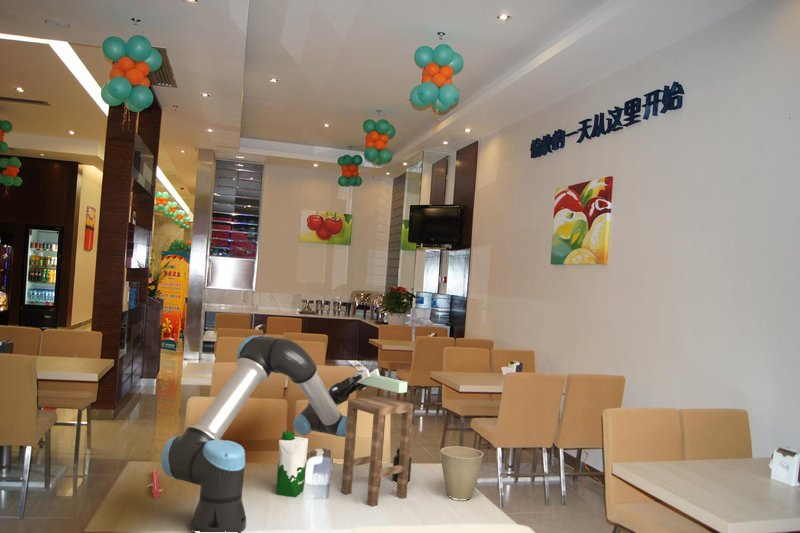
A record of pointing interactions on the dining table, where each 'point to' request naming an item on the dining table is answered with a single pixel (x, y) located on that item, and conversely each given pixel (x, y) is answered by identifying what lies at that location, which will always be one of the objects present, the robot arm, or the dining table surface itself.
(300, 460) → the milk carton
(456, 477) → the plant pot
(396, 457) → the supplement bottle
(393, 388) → the green block
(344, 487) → the walnut stool
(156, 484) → the red long bar
